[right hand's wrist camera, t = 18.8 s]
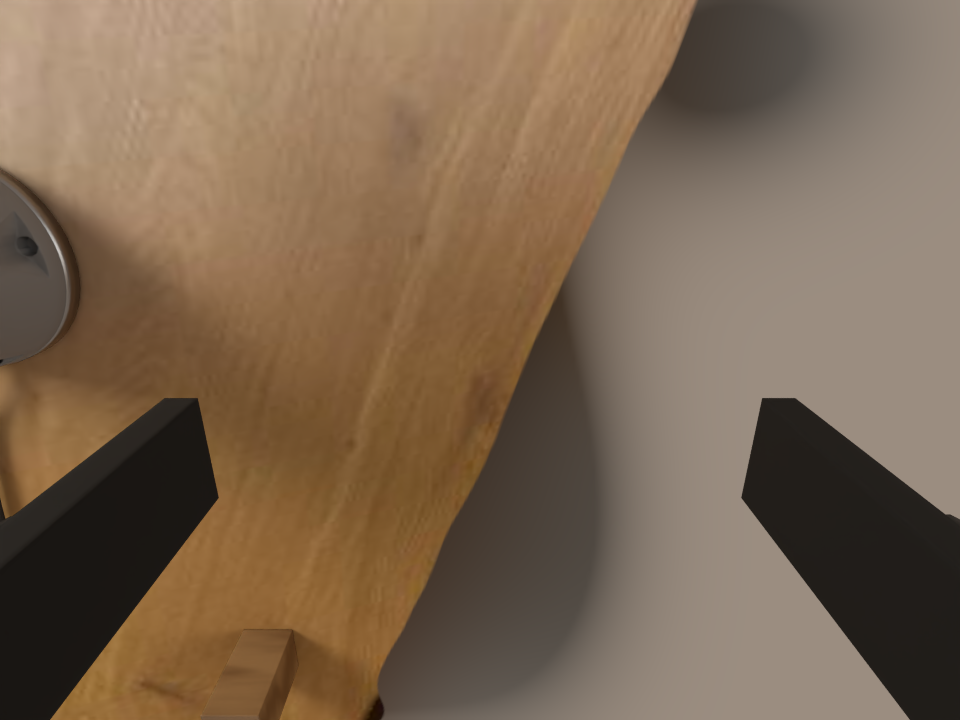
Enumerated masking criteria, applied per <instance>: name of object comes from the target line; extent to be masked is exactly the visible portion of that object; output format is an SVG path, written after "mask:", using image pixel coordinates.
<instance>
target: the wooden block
mask: <svg viewBox="0 0 960 720" xmlns="http://www.w3.org/2000/svg"><path fill="white" fill-rule="evenodd" d="M297 668H298V661H297V655H296V649H295V643H294V637H293V631H292V630H243V632H242V634H241V636H240V638H239V640H238V642H237V644H236V646H235V648H234V650H233V652H232V654H231V656H230V658H229V660H228V662H227V664H226V666H225V668H224V670H223V672H222V674H221V676H220V678H219V680H218V682H217V684H216V686H215V688H214V690H213V692H212V694H211V696H210V698H209V700H208V702H207V704H206V706H205V708H204V710H203V712H202V714H201V719H202V720H279V719H280V716H281V714H282V711H283V708H284V705H285V702H286V699H287V697H288V694H289V691H290V688H291V685H292V683H293V680H294V677H295V674H296V671H297Z"/></svg>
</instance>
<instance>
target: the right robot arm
mask: <svg viewBox="0 0 960 720" xmlns="http://www.w3.org/2000/svg"><path fill="white" fill-rule="evenodd" d="M79 298H80V278H79V272H78V267H77V263H76V259H75V256H74V253H73V251H72V248H71V246H70V243H69V241H68V239H67V237H66V235H65V233H64V232H63V230H62V228H61V227H60V225H59V224H58V222H57V221H56V219H55V218H54V216H53V215H52V214H51V212H50V211H49V210H48V209H47V207H46V206H45V205H44V204H43V203H42V202H41V201H40V200H39V199H38V198H37V197H36V196H35V195H34V194H33V193H32V192H31V191H30V190H29V189H28V188H26V187H25V186H24V185H23V184H22V183H20V182H19V181H18V180H16V179H15V178H13V177H12V176H11V175H9V174H7V173H6V172H4V171H2V170H1V169H0V366H3V365H7V364H11V363H15V362H18V361H22V360H24V359H27V358H29V357H31V356H34V355H36V354H38V353H40V352H42V351H44V350H46V349H48V348H50V347H51V346H53V345H54V344H55V343H57V342H58V341H59V340H60V339H61V338H62V337H63V336H64V334H65V333H66V332H67V331H68V329H69V328H70V326H71V324H72V322H73V320H74V318H75V315H76V312H77V309H78V305H79ZM218 498H219V497H218V493H217V488H216V483H215V478H214V473H213V469H212V464H211V459H210V454H209V450H208V445H207V440H206V435H205V431H204V426H203V421H202V416H201V412H200V407H199V402H198V398H164V399H163V400H162V401H161V402H159V403H158V404H157V405H155V406H154V407H153V408H152V409H150V410H149V411H148V412H146V413H145V414H144V415H142V416H141V417H140V418H139V419H137V420H136V421H135V422H133V423H132V424H131V425H130V426H128V427H127V428H126V429H124V430H123V431H122V432H121V433H119V434H118V435H117V436H115V437H114V438H113V439H112V440H110V441H109V442H108V443H106V444H105V445H104V446H102V447H101V448H100V449H99V450H97V451H96V452H95V453H93V454H92V455H91V456H90V457H88V458H87V459H86V460H84V461H83V462H82V463H81V464H79V465H78V466H77V467H75V468H74V469H73V470H72V471H70V472H69V473H68V474H66V475H65V476H64V477H63V478H61V479H60V480H59V481H57V482H56V483H55V484H53V485H52V486H51V487H50V488H48V489H47V490H46V491H44V492H43V493H42V494H41V495H39V496H38V497H37V498H35V499H34V500H33V501H32V502H30V503H29V504H28V505H26V506H25V507H24V508H23V509H21V510H20V511H19V512H17V513H16V514H15V515H13V516H10V517H9V518H7V519H5V516H4V512H3V508H2V504H1V500H0V720H50V719H51V718H52V716H53V715H54V714H55V713H56V711H57V710H58V709H59V707H60V706H61V705H62V703H63V702H64V701H65V699H66V698H67V697H68V695H69V694H70V693H71V691H72V690H73V689H74V688H75V686H76V685H77V684H78V682H79V681H80V680H81V678H82V677H83V676H84V674H85V673H86V672H87V670H88V669H89V668H90V666H91V665H92V664H93V662H94V661H95V660H96V659H97V657H98V656H99V655H100V653H101V652H102V651H103V649H104V648H105V647H106V645H107V644H108V643H109V641H110V640H111V639H112V637H113V636H114V635H115V634H116V632H117V631H118V630H119V628H120V627H121V626H122V624H123V623H124V622H125V620H126V619H127V618H128V616H129V615H130V614H131V612H132V611H133V610H134V609H135V607H136V606H137V605H138V603H139V602H140V601H141V599H142V598H143V597H144V595H145V594H146V593H147V591H148V590H149V589H150V587H151V586H152V585H153V584H154V582H155V581H156V580H157V578H158V577H159V576H160V574H161V573H162V572H163V570H164V569H165V568H166V566H167V565H168V564H169V562H170V561H171V560H172V559H173V557H174V556H175V555H176V553H177V552H178V551H179V549H180V548H181V547H182V545H183V544H184V543H185V541H186V540H187V539H188V537H189V536H190V535H191V534H192V532H193V531H194V530H195V528H196V527H197V526H198V524H199V523H200V522H201V520H202V519H203V518H204V516H205V515H206V514H207V512H208V511H209V510H210V509H211V507H212V506H213V505H214V503H215V502H216V501H217V499H218ZM742 499H743V501H744V502H745V503H746V504H747V506H748V507H749V509H750V510H751V511H752V512H753V514H754V515H755V516H756V518H757V519H758V520H759V522H760V523H761V524H762V526H763V527H764V528H765V530H766V531H767V532H768V534H769V535H770V536H771V537H772V539H773V540H774V541H775V543H776V544H777V545H778V547H779V548H780V549H781V551H782V552H783V553H784V555H785V556H786V557H787V559H788V560H789V561H790V562H791V564H792V565H793V566H794V568H795V569H796V570H797V572H798V573H799V574H800V576H801V577H802V578H803V580H804V581H805V582H806V584H807V585H808V586H809V587H810V589H811V590H812V591H813V593H814V594H815V595H816V597H817V598H818V599H819V601H820V602H821V603H822V605H823V606H824V607H825V609H826V610H827V611H828V612H829V614H830V615H831V616H832V618H833V619H834V620H835V622H836V623H837V624H838V626H839V627H840V628H841V630H842V631H843V632H844V634H845V635H846V636H847V637H848V639H849V640H850V641H851V643H852V644H853V645H854V647H855V648H856V649H857V651H858V652H859V653H860V655H861V656H862V657H863V659H864V660H865V661H866V662H867V664H868V665H869V666H870V668H871V669H872V670H873V672H874V673H875V674H876V676H877V677H878V678H879V680H880V681H881V682H882V684H883V685H884V686H885V688H886V689H887V690H888V691H889V693H890V694H891V695H892V697H893V698H894V699H895V701H896V702H897V703H898V705H899V706H900V707H901V709H902V710H903V711H904V713H905V714H906V715H907V716H908V718H909V719H910V720H960V519H958V518H956V517H954V516H952V515H945V514H944V513H943V512H941V511H940V510H939V509H937V508H936V507H935V506H934V505H932V504H931V503H930V502H928V501H927V500H926V499H924V498H923V497H922V496H921V495H919V494H918V493H917V492H916V491H914V490H913V489H912V488H910V487H909V486H908V485H907V484H905V483H904V482H903V481H901V480H900V479H899V478H897V477H896V476H895V475H894V474H892V473H891V472H890V471H888V470H887V469H886V468H885V467H883V466H882V465H881V464H879V463H878V462H877V461H876V460H874V459H873V458H872V457H870V456H869V455H868V454H867V453H865V452H864V451H863V450H861V449H860V448H859V447H857V446H856V445H855V444H854V443H852V442H851V441H850V440H848V439H847V438H846V437H845V436H843V435H842V434H841V433H839V432H838V431H837V430H835V429H834V428H833V427H832V426H830V425H829V424H828V423H827V422H825V421H824V420H823V419H821V418H820V417H819V416H818V415H816V414H815V413H814V412H812V411H811V410H810V409H808V408H807V407H806V406H805V405H803V404H802V403H801V402H799V401H798V400H797V399H795V398H762V402H761V407H760V412H759V416H758V421H757V426H756V431H755V435H754V440H753V445H752V450H751V454H750V459H749V464H748V469H747V473H746V478H745V483H744V488H743V493H742Z"/></svg>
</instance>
